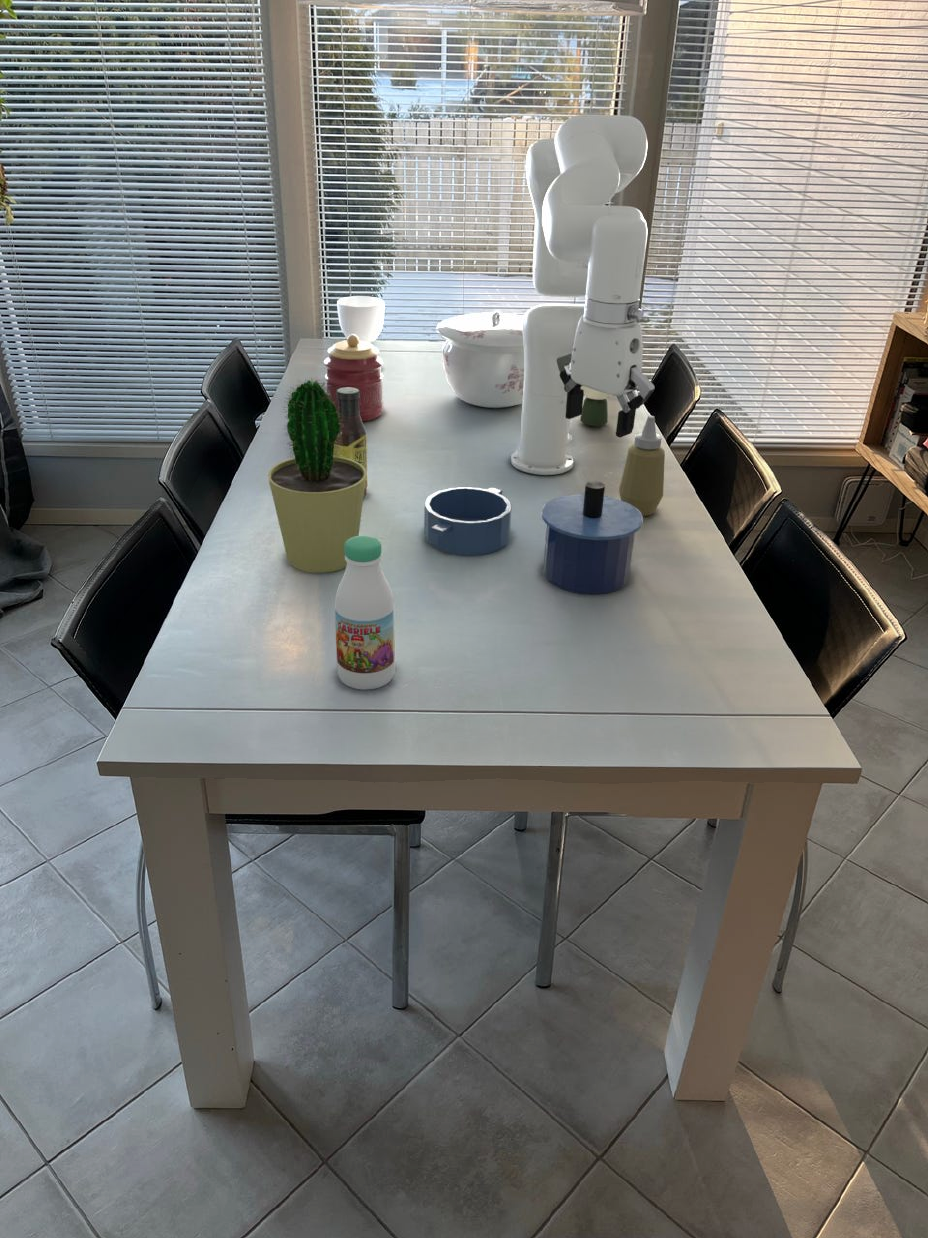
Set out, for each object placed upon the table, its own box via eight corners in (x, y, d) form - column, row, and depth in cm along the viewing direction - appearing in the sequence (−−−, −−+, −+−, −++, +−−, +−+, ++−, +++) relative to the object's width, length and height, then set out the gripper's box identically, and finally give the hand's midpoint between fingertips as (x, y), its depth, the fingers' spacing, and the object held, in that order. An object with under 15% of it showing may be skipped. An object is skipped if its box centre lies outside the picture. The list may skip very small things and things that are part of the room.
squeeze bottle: (663, 505, 181) (677, 412, 171) (656, 522, 174) (670, 427, 165) (621, 498, 183) (632, 406, 173) (612, 515, 176) (624, 420, 167)
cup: (339, 362, 252) (337, 295, 243) (384, 362, 253) (383, 295, 244) (339, 376, 242) (336, 306, 233) (386, 376, 243) (385, 307, 234)
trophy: (613, 418, 221) (619, 362, 214) (620, 429, 215) (627, 371, 208) (566, 418, 220) (571, 362, 213) (572, 429, 214) (577, 371, 207)
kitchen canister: (394, 416, 218) (393, 338, 209) (343, 426, 212) (340, 345, 202) (366, 400, 227) (364, 324, 218) (316, 409, 221) (312, 331, 211)
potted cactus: (372, 576, 154) (368, 392, 138) (274, 581, 151) (259, 395, 136) (365, 533, 167) (360, 361, 151) (274, 538, 164) (260, 363, 149)
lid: (523, 527, 149) (526, 490, 146) (567, 492, 161) (570, 457, 158) (618, 553, 143) (623, 515, 139) (656, 515, 154) (662, 479, 151)
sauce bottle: (362, 503, 178) (359, 397, 167) (329, 499, 179) (324, 394, 168) (372, 489, 183) (369, 386, 173) (340, 485, 184) (336, 383, 174)
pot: (565, 546, 165) (570, 492, 160) (641, 567, 159) (649, 512, 154) (528, 579, 155) (532, 522, 149) (608, 603, 149) (615, 545, 144)
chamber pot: (462, 424, 215) (465, 330, 204) (417, 387, 236) (418, 300, 225) (572, 411, 225) (580, 320, 214) (520, 376, 246) (525, 293, 235)
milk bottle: (338, 659, 133) (332, 528, 123) (394, 658, 134) (393, 528, 123) (336, 692, 127) (330, 557, 116) (395, 690, 127) (394, 556, 117)
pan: (399, 547, 163) (399, 514, 160) (460, 506, 178) (461, 475, 175) (474, 569, 157) (476, 536, 154) (530, 525, 172) (533, 494, 168)
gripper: (677, 319, 133) (659, 436, 143) (580, 294, 144) (570, 404, 153) (644, 328, 129) (628, 448, 138) (547, 302, 139) (538, 415, 148)
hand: (598, 425), depth 145 cm, fingers open, 9 cm apart
